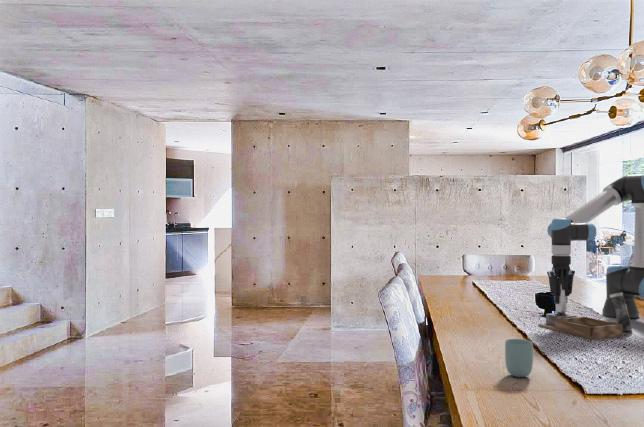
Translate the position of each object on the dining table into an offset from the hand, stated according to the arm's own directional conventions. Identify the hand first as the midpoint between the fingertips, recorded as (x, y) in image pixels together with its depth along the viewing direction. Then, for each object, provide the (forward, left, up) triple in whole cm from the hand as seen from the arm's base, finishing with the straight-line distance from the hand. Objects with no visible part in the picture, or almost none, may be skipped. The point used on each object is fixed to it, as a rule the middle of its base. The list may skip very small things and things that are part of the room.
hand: (561, 311), depth 249 cm
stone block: (-16, +15, -7) cm, 23 cm away
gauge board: (0, +9, -6) cm, 11 cm away
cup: (+67, +51, -7) cm, 85 cm away
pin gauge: (0, 0, -4) cm, 4 cm away
